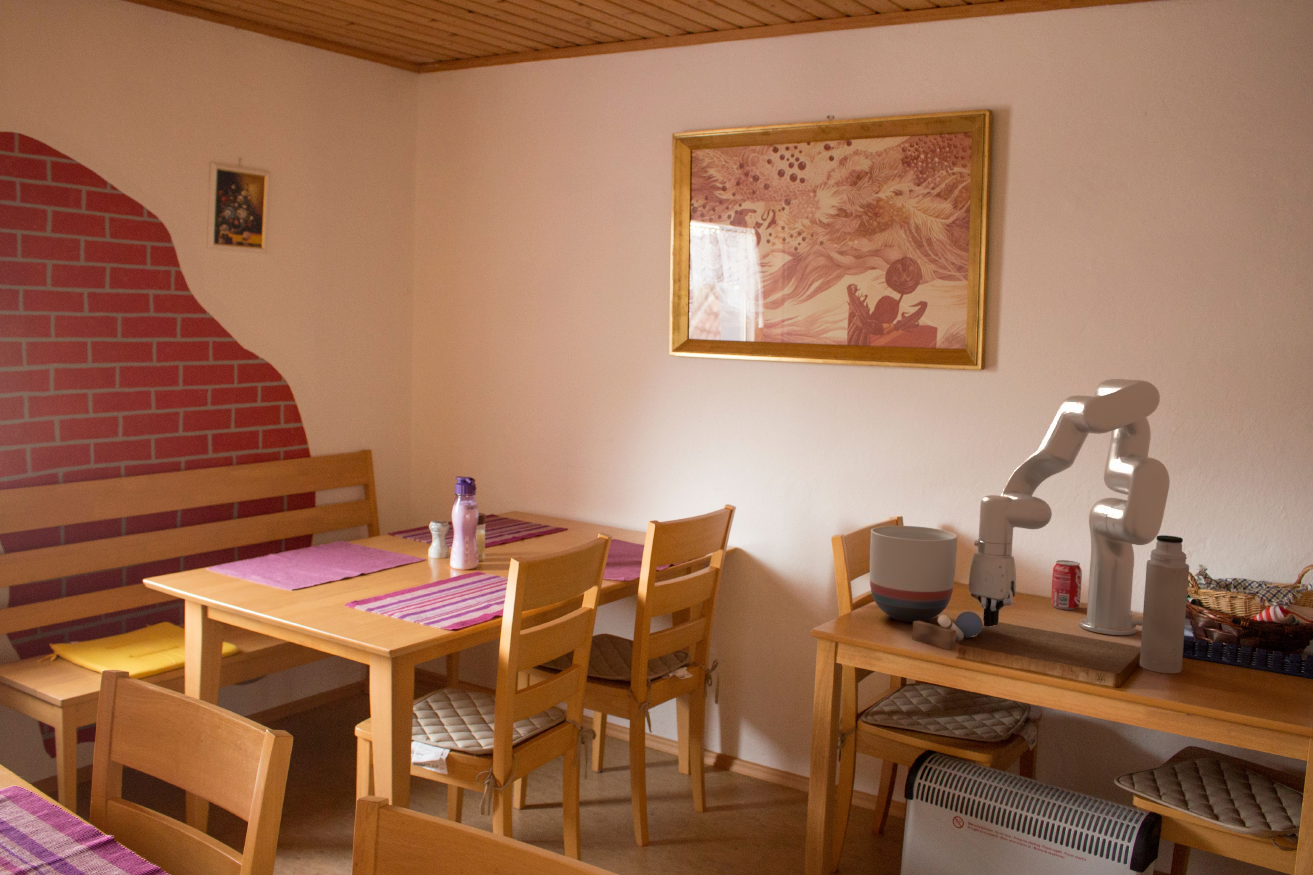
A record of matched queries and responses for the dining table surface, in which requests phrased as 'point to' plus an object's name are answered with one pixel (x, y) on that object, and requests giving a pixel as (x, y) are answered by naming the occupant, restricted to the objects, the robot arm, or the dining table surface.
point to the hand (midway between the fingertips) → (990, 625)
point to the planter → (912, 571)
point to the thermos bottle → (1164, 607)
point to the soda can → (1066, 585)
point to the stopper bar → (934, 635)
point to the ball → (969, 623)
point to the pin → (950, 626)
